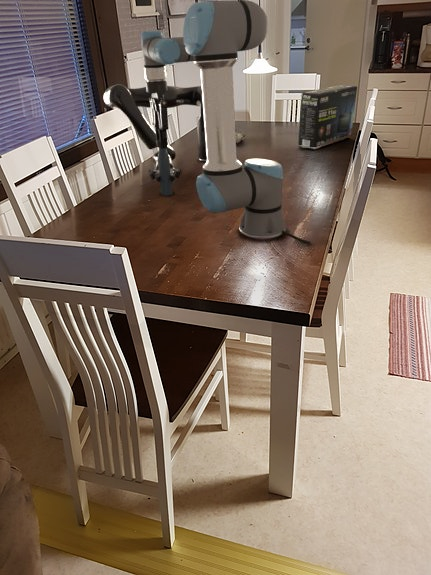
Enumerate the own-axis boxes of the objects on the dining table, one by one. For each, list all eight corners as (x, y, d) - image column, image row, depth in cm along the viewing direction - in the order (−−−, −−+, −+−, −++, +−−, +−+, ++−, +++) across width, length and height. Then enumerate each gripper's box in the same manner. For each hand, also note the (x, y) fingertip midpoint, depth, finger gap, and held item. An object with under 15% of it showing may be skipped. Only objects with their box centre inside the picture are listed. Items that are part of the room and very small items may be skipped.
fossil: (236, 139, 242) (217, 121, 245) (225, 156, 248) (207, 138, 251) (252, 138, 255) (234, 121, 258) (242, 154, 262) (224, 137, 265)
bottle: (170, 190, 188) (166, 139, 177) (174, 194, 184) (169, 142, 173) (159, 192, 186) (154, 141, 176) (162, 196, 182) (157, 143, 172)
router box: (314, 151, 231) (318, 94, 217) (296, 148, 237) (299, 92, 224) (352, 138, 251) (358, 85, 238) (335, 135, 258) (340, 83, 245)
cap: (155, 146, 176) (154, 140, 175) (164, 144, 178) (164, 138, 177) (159, 148, 173) (159, 142, 172) (169, 146, 175) (169, 140, 174)
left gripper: (146, 159, 191) (145, 171, 177) (180, 156, 192) (183, 168, 178) (148, 176, 195) (148, 189, 181) (182, 174, 196) (184, 187, 182)
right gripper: (174, 81, 158) (179, 150, 170) (158, 77, 171) (164, 140, 183) (153, 83, 155) (160, 153, 168) (139, 78, 169) (146, 143, 181)
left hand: (165, 179), depth 179 cm, fingers closed on bottle, 4 cm apart
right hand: (162, 146), depth 175 cm, fingers closed on cap, 4 cm apart
